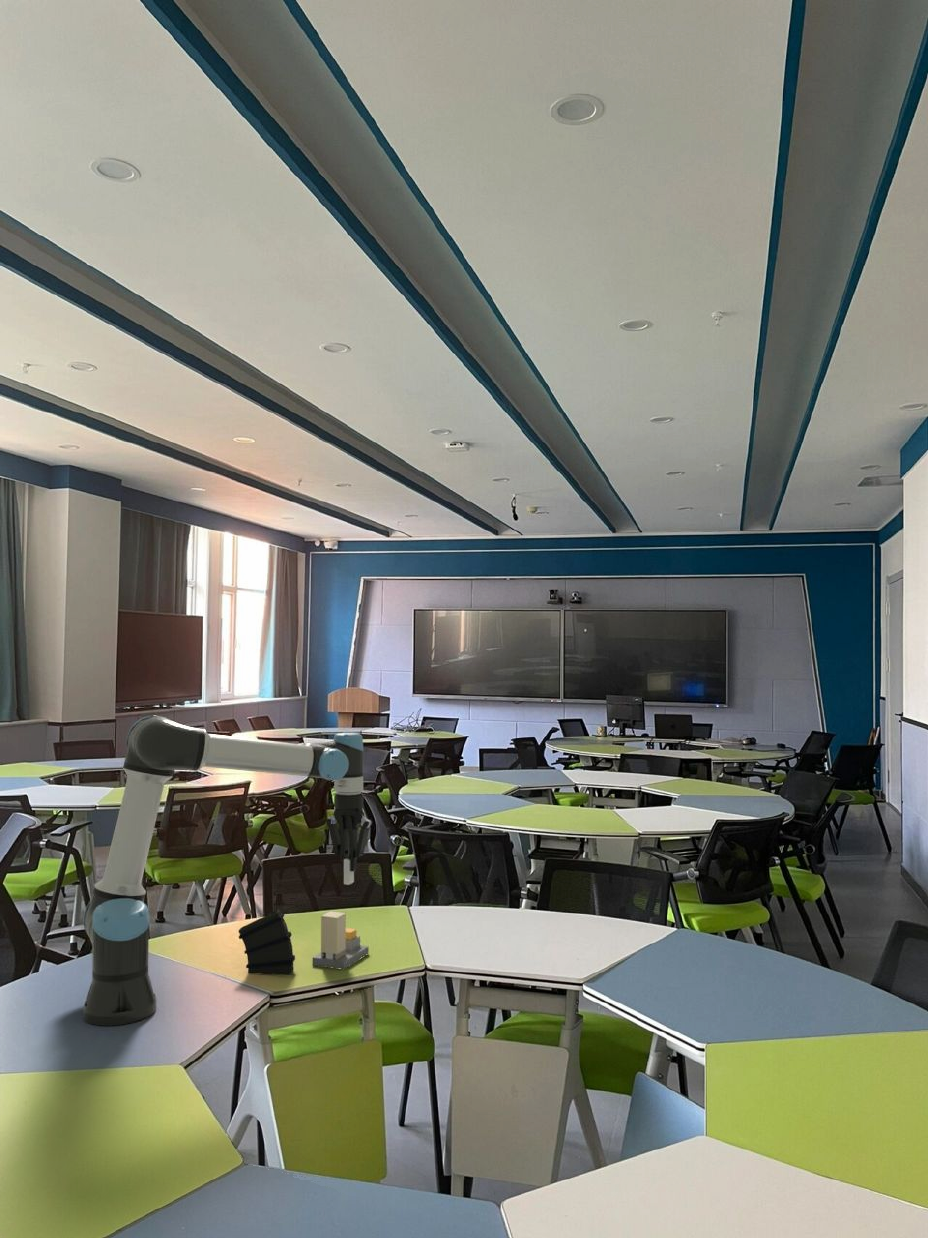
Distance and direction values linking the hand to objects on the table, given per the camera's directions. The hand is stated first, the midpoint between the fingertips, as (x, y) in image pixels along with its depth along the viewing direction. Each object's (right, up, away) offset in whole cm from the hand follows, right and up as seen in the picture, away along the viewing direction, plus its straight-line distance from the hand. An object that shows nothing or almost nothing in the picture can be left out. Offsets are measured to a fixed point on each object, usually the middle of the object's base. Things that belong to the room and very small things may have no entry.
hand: (348, 883), depth 248 cm
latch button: (0, -15, 0) cm, 15 cm away
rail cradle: (-2, -19, -4) cm, 19 cm away
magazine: (-19, -19, -13) cm, 29 cm away
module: (-3, -16, -8) cm, 18 cm away
